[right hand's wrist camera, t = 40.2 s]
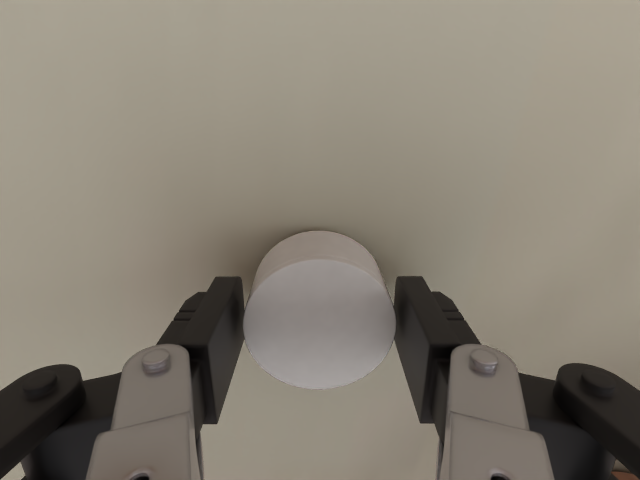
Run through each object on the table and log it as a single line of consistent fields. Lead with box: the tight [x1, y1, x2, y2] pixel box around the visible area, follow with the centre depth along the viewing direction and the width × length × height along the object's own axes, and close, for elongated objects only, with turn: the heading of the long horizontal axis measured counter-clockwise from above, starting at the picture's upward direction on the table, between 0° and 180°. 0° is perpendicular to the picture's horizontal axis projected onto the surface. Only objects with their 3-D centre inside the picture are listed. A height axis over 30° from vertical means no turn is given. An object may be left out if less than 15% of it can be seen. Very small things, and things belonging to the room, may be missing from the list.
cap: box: [243, 231, 396, 389], centre depth 12 cm, size 4×4×2 cm
